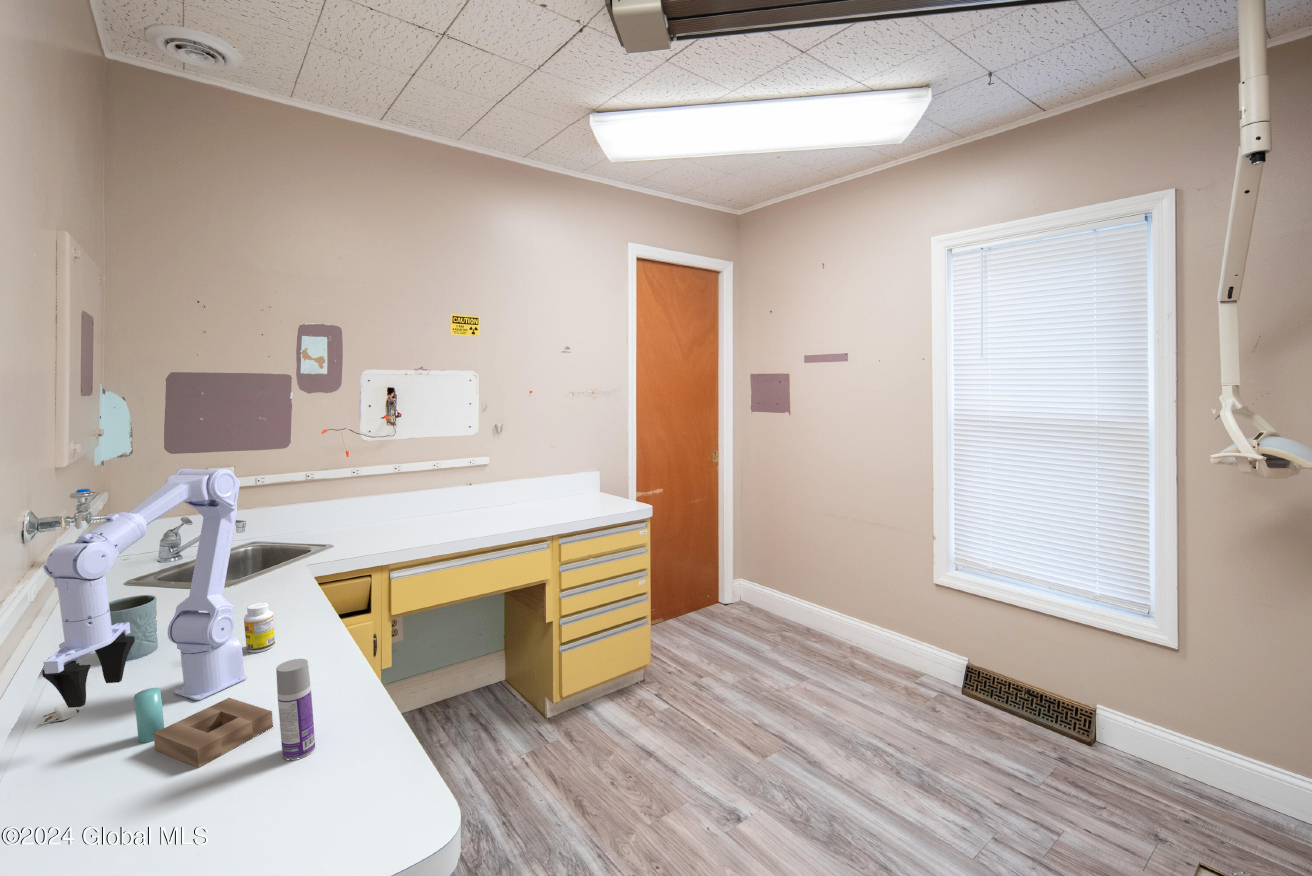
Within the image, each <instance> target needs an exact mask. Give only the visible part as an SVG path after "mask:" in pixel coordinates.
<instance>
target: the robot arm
mask: <svg viewBox="0 0 1312 876" xmlns="http://www.w3.org/2000/svg"><path fill="white" fill-rule="evenodd" d="M240 486H241V481H240V480H239V479H238V478H237V476H236V475H235V474H234V473H233V471H231V470H229V469H227V468H220V469H191V468H182V469H180V470H178V471H176V472H175V473H174V474H172V475H171V476H169V477H167V479H166V482H165V483H164V484H163V485H162V486H161V487H160V488H159V489H157V490H156V491H155V492H154V493H152V494H151V495H149V496H148V497H147V498H146V499H144V501H142V502H140V504H139V505H137V506H136V507H135V508H133V509H132V510H131V511H129V512H126V511H122V512H121V511H120V512H116V513H109V514H107V515H106V516H105V517H104V518H103V520H104V521H103V522H101V523H100V524H98V525H97V526H95V527H94V528H92V529H90V530H89V531H88V532H83V533H82V534H80V535H78V538H77V539H76V540H75V542H68V543H63V544H61V545H58V546H57V547H55V548H54V550H52V551H51V552H50V553H49V555H48V557H47V558H46V563H45V564H44V565H43V566H42V567H43V571H44V572H45V573H46V575H47V576H48V577H49V578H50V579H52V580H53V583H54V588H57V589H56V590H57V593H58V595H57V596H58V599H59V601H58V602H59V608H60V616H61V624H62V631H63V639H64V641H63V642H60V643H59V644H58V647H59V649H58V651H56V653H55V654H53V655H52V656H51V657H50V658H48V659H46V660H44V661H43V668H44V669H42V671H41V673H42V675H41V676H42V677H43V678H44V679H45V680H47V681H48V682H50V683H51V685H53V686H54V688H55V689H56V690H57V691H58V693H59V694H60V696H61V697H62V700H63V701H64V703H65V705H66V706H67V708H68V709H72V708H82V707H84V706H85V705H86V702H87V680H88V674H89V671H90V669H91V666H92V665H91V664H80V663H79V662H78V663H77V661H78V660H81V659H82V658H84V657H86V656H87V655H89V654H91V653H93V652H95V654H96V656H97V658H98V660H99V662H100V666H101V672H102V675H103V679H104V682H105V684H113V683H114V684H115V683H117V684H118V683H120V682H122V681H123V676H124V672H125V667H126V662H127V661H126V659H127V656H128V654H129V651H130V649H131V647H132V645H133V644H134V642H135V638H134V636H125V635H127V634H129V633H130V624H129V622H128V623H117V624H115V625H111V617H110V608H109V602H110V601H109V593H108V584H107V577H106V575H107V574H108V573H110V571H111V570H112V568H113V566H114V563H115V561H116V559H117V558H119V555H121V554H122V553H124V552H125V551H127V550H128V549H129V548H130V547H132V546H133V545H135V544H136V543H138V541H140V540H141V539H142V538H144V537H145V535H146V533H147V526H149V525H150V524H151V523H153V522H155V521H156V520H158V519H159V518H161V517H162V516H164V515H166V514H167V513H169V512H170V511H172V510H173V509H175V508H176V507H178V506H179V505H181V504H182V503H184V504H186V505H188V506H189V507H192V508H193V509H195V510H196V511H197V512H198V513H199V514H200V516H201V517H202V518H203V519H202V524H201V531H200V535H199V540H198V546H197V551H196V552H197V553H196V557H195V562H194V569H193V572H192V573H193V575H192V579H191V584H190V590H189V595H188V597H186V598H185V599H184V600H183V601H180V603H179V604H178V605H177V606H176V607H175V613H174V615H173V617H172V619H171V620H170V622H169V624H168V626H167V627H168V628H167V637H168V639H169V641H170V642H171V643H173V644H176V650H179V651H180V659H181V660H180V661H181V671H182V679H183V686H182V687H178V688H177V689H175V690H173V694H175V695H177V696H182V697H184V698H188V699H191V700H193V701H201V700H203V699H205V698H208V697H209V696H212V695H214V694H217V693H218V692H220V691H223V690H225V689H228V688H229V687H233V685H236V684H238V683H241V682H242V681H245V680H246V679H248V677H247V675H245V665H244V655H243V653H244V652H243V647H242V644H241V642H240V640H239V639H238V638H237V637H235V635H232V634H233V632H234V629H235V620H234V615H233V614H234V608H235V607H234V605H233V604H231V603H230V601H228V600H227V599H226V598H225V597H224V591H225V585H226V579H227V573H228V568H229V561H230V557H231V556H230V555H231V550H232V545H233V544H232V543H233V539H234V538H233V537H234V532H235V527H236V522H237V521H236V520H237V515H238V497H239V492H240ZM202 611H203V612H202Z"/></svg>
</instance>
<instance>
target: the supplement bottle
mask: <svg viewBox="0 0 1312 876" xmlns="http://www.w3.org/2000/svg"><path fill="white" fill-rule="evenodd" d="M246 609H247V611H246V613H247V614H245V616H244V617H243V624H244V636H245V646H246V650H247V652H249V653H251V654H252V653H253V654H255V653H262V652H266V651H269V650H271V648H273V647H274V646H275V644H276V635H275V634H276V633H275V624H274V623H275V622H274V613H273V611H272V610H270V609H269V604H268V602H257V603H253V604H250V605H248V606H247V608H246Z"/></svg>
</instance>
